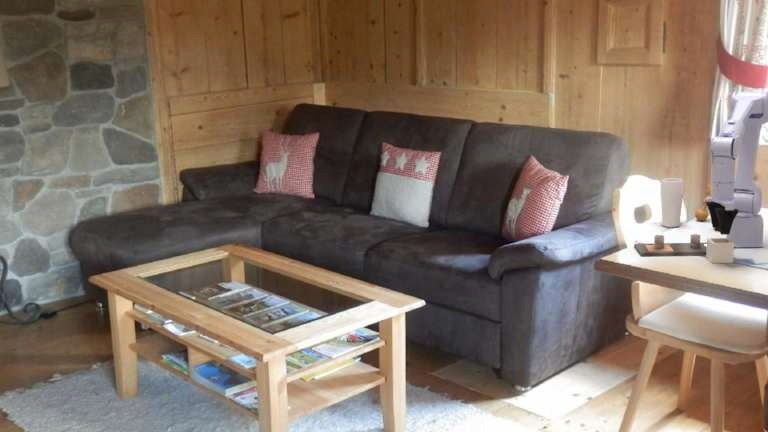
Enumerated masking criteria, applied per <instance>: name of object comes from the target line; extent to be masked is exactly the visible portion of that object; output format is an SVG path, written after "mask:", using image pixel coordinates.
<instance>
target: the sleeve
mask: <svg viewBox="0 0 768 432" xmlns="http://www.w3.org/2000/svg"><path fill="white" fill-rule="evenodd" d="M706 243H707V249H706V255H705V257H706V259H707V260H708V261H709V262H710V264H733V263H734V253H735V248H734V243H733V242H732V241H731V240H730V239H729V238H726V237H713V238H712V237H707V238H706Z"/></svg>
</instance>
